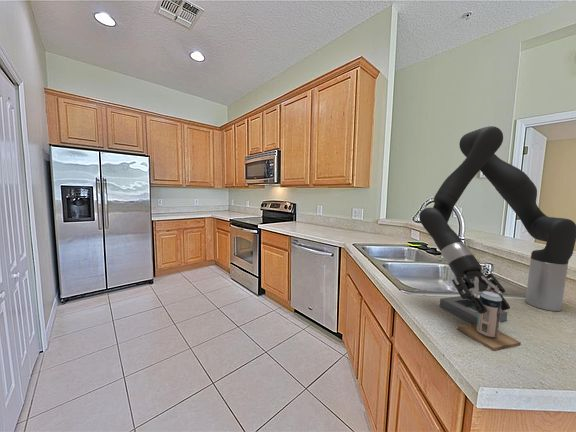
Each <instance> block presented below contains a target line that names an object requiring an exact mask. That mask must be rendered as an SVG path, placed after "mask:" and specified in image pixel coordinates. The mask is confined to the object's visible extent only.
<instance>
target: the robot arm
mask: <svg viewBox="0 0 576 432" xmlns="http://www.w3.org/2000/svg"><path fill="white" fill-rule="evenodd" d="M503 142H504V133H503V131H502V130H501V129H500V128H499V127H497V126H489V125H488V126H485V127H481V128H479V129H476V130H472V131H469V132H467V133H465V134H464V135H462V137H461V138H460V140H459V149H460V152H461V153H462V154H463V155H464V156H465V159H464V160H463V161H462V162H461V164H460V165H459V166H458V167H457V168H455V170H454V171H453V172H451V174H450V175H448V176H447V177H446V178H445V179H444V181H443V182H442V184H441V185H440V186H439V188H438V190H437V191H436V194H435V195H434V197H433V202H434V203H433V206H432V207H426V208H423V209H422V210H421V211H420V213H419V217H418V218H419V219H418V220H419V223H420V224H421V225H422V227H423V228H424V229H425V230H426V232H427V233H428V235H429V236H430V237H431V238H432V240H433V241H434V244H435V245H436V247H437V248H438V249H439V252H440V253H441V255H442V258H444V260H445V262H446V264H447V265H448V267H449V268H450V269H451V271H452V273H453V275H454V276H455V278H453V279H451V281H452V283H453V285H454V287H455V288H456V291H457V292H458V293H459V296H461V297H462V298H463V299H468V300H469V301H471V302H472V304H473V305H474V307H475V308H476V310H477V311H478V312H479V313H480V314H482V313H485V312H487V309H486V307H485V306H484V304H483V303H482V301H481V300H480V297H479V293H478V292H483V291H489V292H494V293H497V294H499V295H500V296H501V298H502V303H501V310H503V311H507V310H510V309H511V307H510V305H509V303H508V302H507V300H506V299H505V298H504V296H503V294H504V293H505V292H506V289H505V288H504V287H503V286H502V285H501V283H500V281H498V280H497V278H496V276H494V274H493V273H488V274H484V273H483V272H482V270H483V266H482V265H481V264H480V262H479V261H478V260H477V259H476V256H474V254H473V253H472V251H471V250H470V249H469V247H467V245H466V244H464V242H463V240H462V239H461V238H460V236H459V235H458V234H457V233H456V232H455V231H454V230H453V229H452V228H451V226H450V225H449V223H448V222H449V221H450V218H451V216H452V213H453V210H454V208H455V205H456V204H457V202H458V201H459V199H460V198H461V196H462V195H463V193H464V191H465V190H466V188H467V187H468V185H469V184H470V183H471V182H472V180H473V179H474V178H475V176H476V175H477V174H478V173H479V172H481V173H482V174H483V176H484V177H485V178H486V179H487V180H488V181H489V182H490V183H491V185H492V186H493V187H494V188H495V190H496V191H497V192H498V193H499V195H500V196H501V198H502V199H503V200H504V201H505V202H506V203H507V204H508V205H509V207H510V208H511V209H512V210H513V212H514V213H515V215H517V217H518V219H519V220H520V221H521V223H522V225H523V227H524V228H525V230H526V231H527V233H528V234H529V235H530V236H531V237H532V238H533V239H535V240H538V241H541V242H546V244H545V247H544V248H542V249H535V250H532V251H531V253H530V261H529V262H530V264H529V269H528V270H529V271H528V278H527V284H526V286H527V287H526V290H525V291H526V292H525V303H527V304H528V305H530V306H533V307H535V308H537V309H541V310H545V311H546V310H547V311H550V312H551V311H552V312H560V311H562V308H563V301H564V295H565V294H564V293H565V287H566V280H567V273H568V266H569V261H570V259H571V257H573V253H574V250H575V246H576V222H575V221H573V220H572V219H569V218H562V217H554V216H548V215H546V214H545V213H544V212H543V211H542V210H541V209H540V208H539V206H538V204H537V199H538V198H537V197H538V189H537V186H536V185H535V184H534V181H532V180H531V178H530V177H529V176H528V174H526V172H524V171H523V170H522V169H520V168H518V167H516V166H515V165H513V164H510V163H508V162H507V161H505V160H502V159H501V158H499V157H500V156H499V157H498V156H497V154H496V152H497V151H498V150H499V149H500V147H501V146H502V144H503ZM476 310H475V311H476Z"/></svg>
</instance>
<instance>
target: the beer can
mask: <svg viewBox="0 0 576 432" xmlns="http://www.w3.org/2000/svg"><path fill="white" fill-rule="evenodd" d="M479 298H480V300H481V301H482V303H483V304H484V306H485V307H486V309H487V312H485V313H482V314H480V313H479V312H478V319H477V328H476V329H477V331H478V332H479V333H481V334H482V335H484V336H487V337H497V336H498V331H499V325H500V322H499V319H500V311H501V303H502V298H501V296H500V295H499V294H497V293H494V291H492V292H489V291H481V293H480V295H479Z"/></svg>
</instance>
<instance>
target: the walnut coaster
mask: <svg viewBox="0 0 576 432" xmlns="http://www.w3.org/2000/svg"><path fill="white" fill-rule="evenodd" d="M476 328H477V324H471V323H470V324H466V325H460V326H457V329H456V330H458V331H459V332H461V333H463V334H465V335H466V336H468V337H470V338H471V339H473V340H474V341H476V342H478V343H480V344H481V345H483V346H484V347H485V348H488V349H489V350H491V351H500V350H503V349H510V348H513V347H518V346H521V345H522V343H521V341H519V340H517V339H515V338H513V337H512V336H509V335H507V334H505V333H503V332H502V331H500V330H498V336H497V337H487V336H484V335H482V334H481V333H479V332H478V331H477V329H476Z"/></svg>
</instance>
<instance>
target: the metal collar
mask: <svg viewBox="0 0 576 432" xmlns="http://www.w3.org/2000/svg"><path fill="white" fill-rule="evenodd" d="M439 299H440V300H439V308H442V309H444V310H446V311H447V312H449V313H451V314H453V315H455V316H457V317H459V318H460V319H462V320H464V321H466V322H467V323H469V324H470V325H471V324H477V319H478V311H477V310H476V308H475V307H474V305H473V304H472V302H471V301H469V300H468V299H463V298H462V297H461V296H460V295H457V296H450V297H442V298H441V297H440V298H439ZM507 319H508V312H507V310H504V311H503V310H501V311H500V319H499V323H502V322H507Z"/></svg>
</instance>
